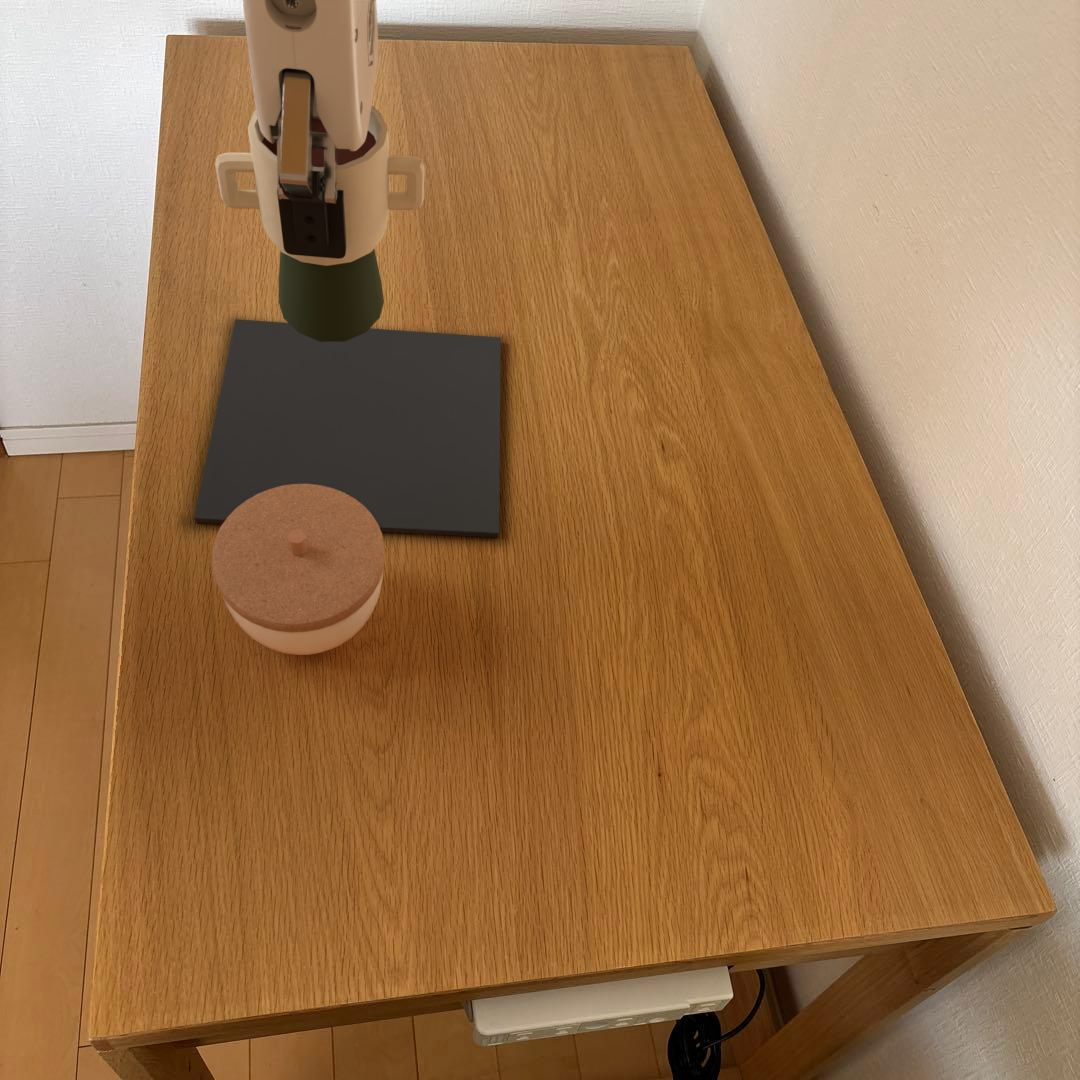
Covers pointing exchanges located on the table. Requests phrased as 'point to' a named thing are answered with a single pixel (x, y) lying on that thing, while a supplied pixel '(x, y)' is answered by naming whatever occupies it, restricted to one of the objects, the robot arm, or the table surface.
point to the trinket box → (300, 567)
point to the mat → (361, 425)
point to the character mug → (353, 281)
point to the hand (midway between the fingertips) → (324, 202)
